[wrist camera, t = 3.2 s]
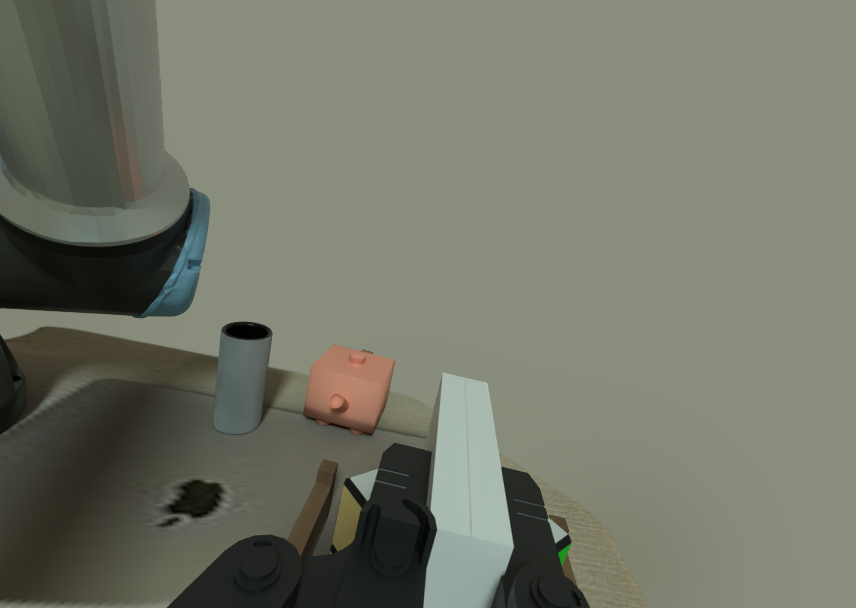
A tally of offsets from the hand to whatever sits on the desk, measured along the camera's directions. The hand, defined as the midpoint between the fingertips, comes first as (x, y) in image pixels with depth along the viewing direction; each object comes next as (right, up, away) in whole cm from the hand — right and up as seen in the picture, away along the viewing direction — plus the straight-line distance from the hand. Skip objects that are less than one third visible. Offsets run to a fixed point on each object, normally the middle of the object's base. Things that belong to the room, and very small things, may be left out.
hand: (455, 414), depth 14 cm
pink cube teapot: (-11, -10, +33) cm, 36 cm away
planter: (-21, -9, +29) cm, 36 cm away
